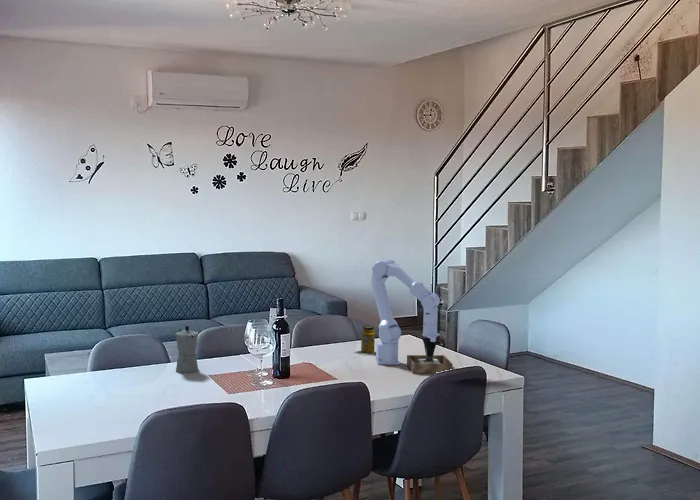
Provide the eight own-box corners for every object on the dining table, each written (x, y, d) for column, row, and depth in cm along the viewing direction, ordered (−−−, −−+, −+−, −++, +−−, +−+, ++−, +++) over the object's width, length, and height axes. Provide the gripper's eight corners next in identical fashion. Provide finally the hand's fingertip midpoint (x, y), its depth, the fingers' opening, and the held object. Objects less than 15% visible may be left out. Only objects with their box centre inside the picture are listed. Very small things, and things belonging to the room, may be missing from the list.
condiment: (378, 352, 321) (378, 326, 320) (365, 355, 315) (365, 328, 314) (367, 350, 326) (367, 324, 326) (353, 352, 321) (354, 326, 320)
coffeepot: (204, 372, 279) (204, 327, 278) (181, 375, 274) (181, 329, 273) (190, 364, 292) (190, 321, 291) (168, 367, 287) (168, 323, 286)
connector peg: (426, 361, 290) (426, 344, 290) (425, 359, 293) (425, 342, 292) (433, 361, 290) (434, 344, 290) (432, 359, 293) (432, 342, 293)
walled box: (413, 373, 283) (413, 364, 283) (406, 364, 299) (407, 355, 299) (452, 373, 285) (452, 364, 284) (443, 364, 300) (444, 355, 300)
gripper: (443, 326, 284) (442, 359, 285) (436, 320, 298) (435, 351, 299) (426, 326, 283) (425, 359, 284) (419, 320, 297) (418, 351, 298)
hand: (429, 355), depth 291 cm, fingers closed on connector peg, 3 cm apart
